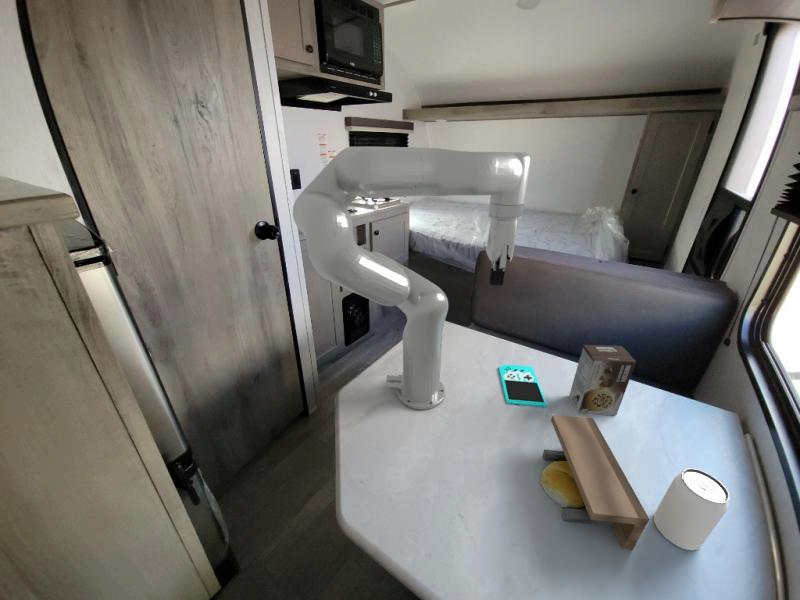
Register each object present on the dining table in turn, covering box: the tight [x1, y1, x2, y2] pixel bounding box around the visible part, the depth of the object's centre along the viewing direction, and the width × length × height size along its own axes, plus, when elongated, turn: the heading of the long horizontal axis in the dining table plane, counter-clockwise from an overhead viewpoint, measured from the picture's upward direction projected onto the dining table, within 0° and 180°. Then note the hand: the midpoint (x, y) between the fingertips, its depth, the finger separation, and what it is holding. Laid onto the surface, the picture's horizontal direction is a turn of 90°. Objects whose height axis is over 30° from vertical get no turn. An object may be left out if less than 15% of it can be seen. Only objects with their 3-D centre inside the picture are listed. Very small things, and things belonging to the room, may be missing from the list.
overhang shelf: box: [541, 414, 650, 551], centre depth 59 cm, size 10×20×8 cm, turn 174°
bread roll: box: [540, 461, 586, 510], centre depth 61 cm, size 8×9×4 cm
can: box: [653, 467, 730, 551], centre depth 52 cm, size 6×6×12 cm
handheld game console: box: [498, 364, 548, 408], centre depth 88 cm, size 10×16×1 cm, turn 172°
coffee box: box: [569, 344, 637, 416], centre depth 77 cm, size 9×6×16 cm
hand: (495, 283), depth 82 cm, fingers closed
